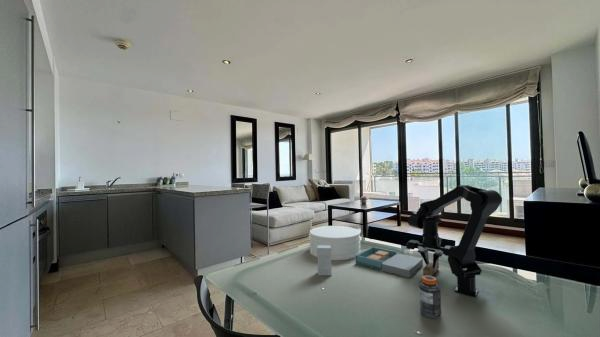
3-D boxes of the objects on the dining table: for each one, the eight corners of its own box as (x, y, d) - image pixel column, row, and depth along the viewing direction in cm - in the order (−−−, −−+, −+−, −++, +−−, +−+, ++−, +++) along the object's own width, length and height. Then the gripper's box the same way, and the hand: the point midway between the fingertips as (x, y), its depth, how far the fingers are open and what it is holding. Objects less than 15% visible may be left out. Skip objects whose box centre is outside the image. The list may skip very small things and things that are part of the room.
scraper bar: (428, 280, 102) (428, 270, 102) (423, 278, 104) (422, 268, 104) (438, 268, 114) (438, 259, 114) (433, 266, 115) (433, 258, 115)
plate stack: (301, 248, 150) (301, 229, 150) (341, 242, 161) (341, 224, 161) (326, 263, 124) (325, 240, 124) (371, 254, 136) (370, 233, 136)
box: (381, 270, 114) (381, 261, 114) (355, 263, 123) (355, 255, 123) (396, 259, 128) (396, 251, 128) (372, 254, 136) (372, 246, 136)
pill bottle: (434, 308, 83) (433, 273, 83) (445, 318, 77) (444, 281, 77) (416, 308, 83) (415, 274, 83) (425, 319, 77) (425, 281, 77)
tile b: (384, 259, 124) (384, 254, 124) (375, 257, 128) (375, 252, 128) (389, 257, 128) (388, 252, 128) (379, 255, 131) (379, 250, 131)
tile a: (377, 264, 118) (377, 259, 118) (367, 262, 122) (367, 257, 122) (382, 261, 122) (382, 256, 122) (372, 259, 125) (372, 254, 125)
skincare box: (331, 271, 114) (330, 245, 114) (331, 275, 110) (331, 248, 110) (317, 271, 114) (317, 245, 115) (317, 275, 110) (317, 247, 110)
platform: (409, 277, 106) (409, 270, 106) (382, 270, 114) (381, 263, 114) (422, 265, 120) (422, 258, 120) (397, 259, 128) (397, 253, 128)
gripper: (459, 230, 109) (460, 267, 109) (413, 225, 121) (414, 258, 121) (453, 236, 100) (454, 275, 100) (405, 229, 113) (406, 264, 113)
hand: (431, 267), depth 109 cm, fingers closed on scraper bar, 2 cm apart
